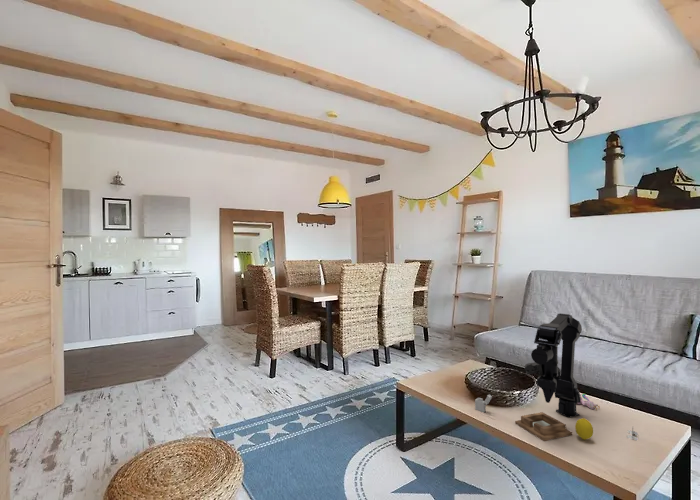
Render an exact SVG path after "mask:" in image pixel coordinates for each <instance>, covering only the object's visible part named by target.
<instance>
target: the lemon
mask: <svg viewBox="0 0 700 500" xmlns="http://www.w3.org/2000/svg"><path fill="white" fill-rule="evenodd" d="M574 429H575V433H576V434H577V435H578V437H579V438H580V439H582V440H584V441H585V440H589V439H591V438H592V437H593V434H594V427H593V425H592V423H591V422H590V421H589V420H588V419H586V418H585V417H582V418H578V419H577V420H576V422H575V425H574Z"/></svg>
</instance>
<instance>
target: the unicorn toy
mask: <svg viewBox="0 0 700 500" xmlns="http://www.w3.org/2000/svg"><path fill="white" fill-rule="evenodd" d="M583 399H585V400H583ZM577 404H578V405H583V406H587V408H589V409H590V410H594V409H595V411H598V410H600V407H601V406H600V405H599V404H598V403H597V404H596V403H594V401H591V400H590V399H589V398H588V397H587V394H586V393H582V396H581V403H576V405H577Z"/></svg>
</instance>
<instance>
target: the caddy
mask: <svg viewBox="0 0 700 500" xmlns="http://www.w3.org/2000/svg"><path fill="white" fill-rule="evenodd" d="M514 424H515V425H517V426H518V427H520V428H522V429H524V431H527V433H530V434H531V435H533V436H535V437H536V438H538V439H539V440H541V441H542V442H545V441H546V442H547V441H551V440H555V439H559V438H564V437H565V438H566V437H569V436H573V432H572V431H571V430H569V429H567V425H566V423H564V422H562V421H560V420H558V419H556V418H555V417H552V416H550V415H549V414H547V413H545V412H543V411H541V412H536V413H535V412H534V413H531V414H530V413H529V414H524V415H520V419H519V420H514Z"/></svg>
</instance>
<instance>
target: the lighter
mask: <svg viewBox="0 0 700 500" xmlns="http://www.w3.org/2000/svg"><path fill="white" fill-rule="evenodd" d="M492 398H493V396H492V395H491V394H490V393H489V394H487V395H486V398H485V400H484V398H481V397H477V398H476V399H474V410H475V411H478V412H481V413H486V405H489V403H490V402H491V400H492Z"/></svg>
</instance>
